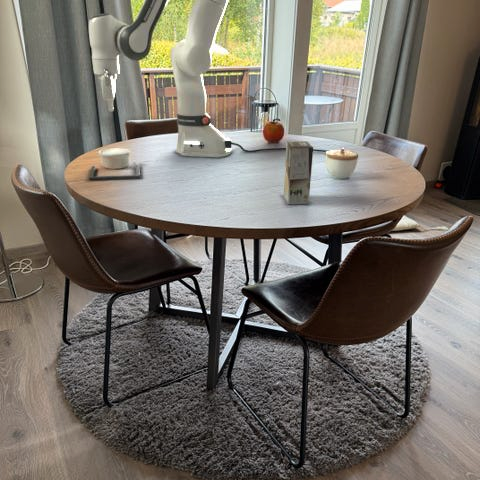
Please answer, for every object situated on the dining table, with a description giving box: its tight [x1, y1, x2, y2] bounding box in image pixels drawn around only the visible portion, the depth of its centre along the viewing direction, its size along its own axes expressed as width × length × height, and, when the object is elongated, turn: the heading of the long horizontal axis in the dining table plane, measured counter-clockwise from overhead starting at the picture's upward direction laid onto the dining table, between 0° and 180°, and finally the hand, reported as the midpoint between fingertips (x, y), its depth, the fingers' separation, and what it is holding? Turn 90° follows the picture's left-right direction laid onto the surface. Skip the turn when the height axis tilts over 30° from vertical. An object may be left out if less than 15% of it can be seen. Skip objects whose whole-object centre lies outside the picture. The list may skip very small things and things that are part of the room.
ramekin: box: [97, 147, 132, 170], centre depth 178 cm, size 11×11×5 cm
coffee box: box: [283, 140, 314, 205], centre depth 144 cm, size 9×6×16 cm
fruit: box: [262, 117, 285, 144], centre depth 216 cm, size 10×10×10 cm
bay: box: [88, 164, 141, 182], centre depth 170 cm, size 15×16×1 cm
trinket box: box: [325, 147, 359, 180], centre depth 168 cm, size 11×11×9 cm
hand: (111, 110), depth 179 cm, fingers closed
